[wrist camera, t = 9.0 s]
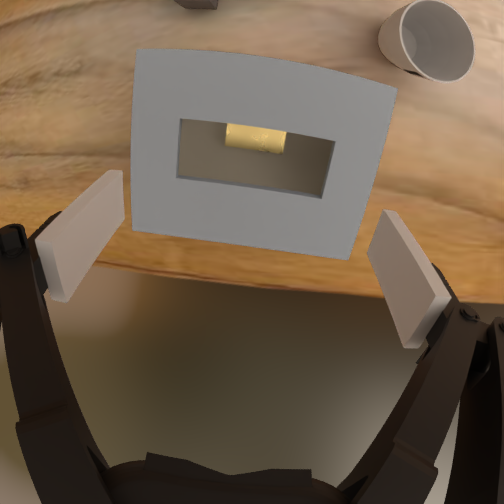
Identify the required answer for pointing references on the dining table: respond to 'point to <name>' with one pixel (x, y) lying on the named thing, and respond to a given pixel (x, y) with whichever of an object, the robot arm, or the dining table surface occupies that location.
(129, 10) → the dining table surface
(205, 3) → the block
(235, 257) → the dining table surface
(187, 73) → the box
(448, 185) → the dining table surface
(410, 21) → the cup
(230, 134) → the yellow wooden brick
